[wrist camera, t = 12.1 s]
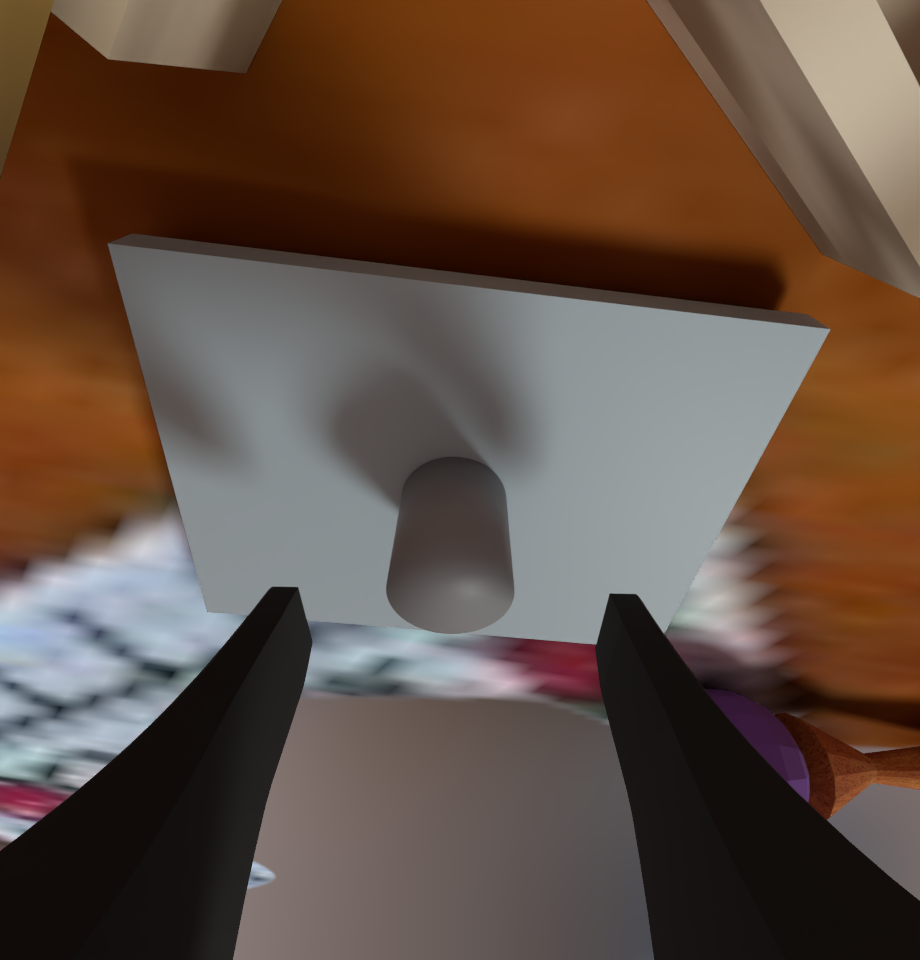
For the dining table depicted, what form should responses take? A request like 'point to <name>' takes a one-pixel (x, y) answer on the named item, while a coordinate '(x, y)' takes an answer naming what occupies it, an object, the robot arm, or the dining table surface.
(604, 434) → the lid
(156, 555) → the dining table surface
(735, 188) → the dining table surface
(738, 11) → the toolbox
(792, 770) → the kendama
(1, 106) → the yellow rectangular block
